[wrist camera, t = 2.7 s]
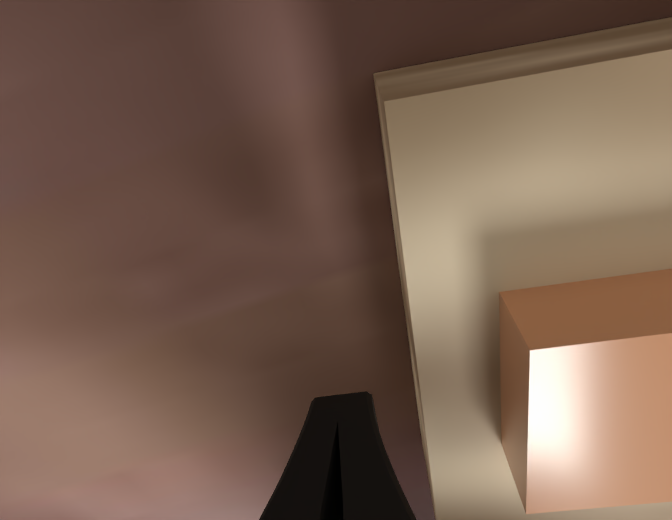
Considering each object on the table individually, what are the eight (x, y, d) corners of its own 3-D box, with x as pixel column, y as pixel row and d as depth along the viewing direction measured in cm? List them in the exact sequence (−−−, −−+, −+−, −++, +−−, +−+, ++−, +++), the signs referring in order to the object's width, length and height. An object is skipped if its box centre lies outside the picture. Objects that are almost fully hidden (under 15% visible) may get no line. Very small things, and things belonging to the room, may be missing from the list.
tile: (695, 424, 12) (753, 494, 10) (501, 444, 13) (525, 514, 11) (739, 259, 10) (824, 314, 8) (498, 292, 10) (530, 350, 9)
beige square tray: (803, 402, 17) (921, 505, 14) (422, 442, 19) (439, 544, 15) (986, -43, 11) (1305, -66, 7) (373, 73, 12) (384, 101, 8)
